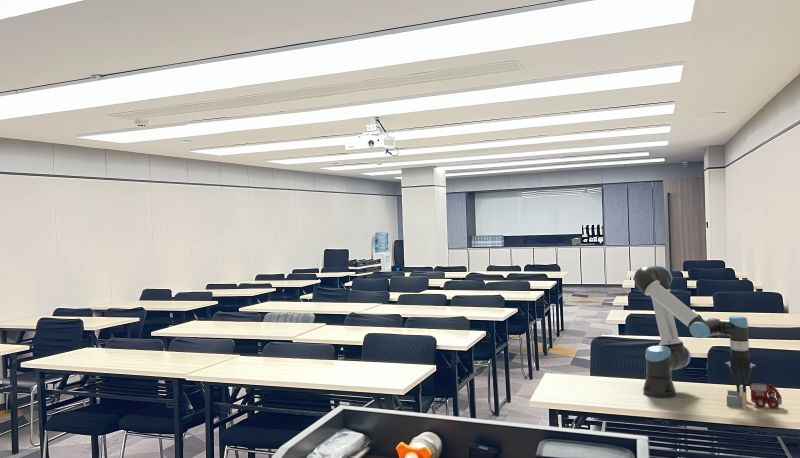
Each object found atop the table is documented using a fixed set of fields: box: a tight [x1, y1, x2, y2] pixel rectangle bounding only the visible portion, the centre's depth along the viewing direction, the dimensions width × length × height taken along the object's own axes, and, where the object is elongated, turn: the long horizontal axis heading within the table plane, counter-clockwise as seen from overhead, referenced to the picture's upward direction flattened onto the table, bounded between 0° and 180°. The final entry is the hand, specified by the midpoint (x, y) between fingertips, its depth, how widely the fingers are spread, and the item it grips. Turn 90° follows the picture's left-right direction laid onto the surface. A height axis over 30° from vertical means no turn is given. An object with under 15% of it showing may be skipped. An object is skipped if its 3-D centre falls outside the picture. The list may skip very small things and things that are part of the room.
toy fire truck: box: [749, 382, 783, 410], centre depth 261 cm, size 7×12×10 cm, turn 67°
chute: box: [726, 389, 748, 410], centre depth 267 cm, size 8×15×7 cm, turn 148°
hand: (741, 399), depth 266 cm, fingers closed
